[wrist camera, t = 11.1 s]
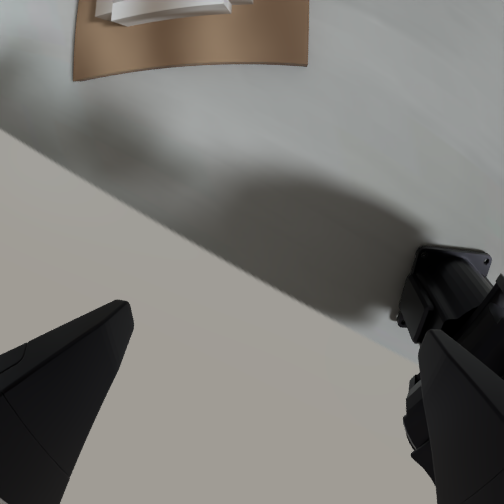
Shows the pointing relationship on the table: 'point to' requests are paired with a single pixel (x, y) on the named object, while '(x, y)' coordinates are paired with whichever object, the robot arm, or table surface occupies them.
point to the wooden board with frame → (187, 34)
